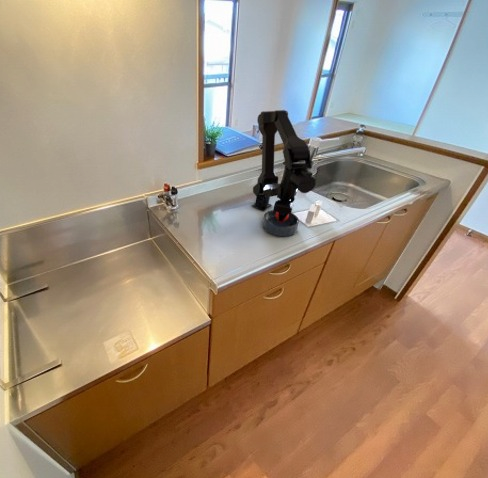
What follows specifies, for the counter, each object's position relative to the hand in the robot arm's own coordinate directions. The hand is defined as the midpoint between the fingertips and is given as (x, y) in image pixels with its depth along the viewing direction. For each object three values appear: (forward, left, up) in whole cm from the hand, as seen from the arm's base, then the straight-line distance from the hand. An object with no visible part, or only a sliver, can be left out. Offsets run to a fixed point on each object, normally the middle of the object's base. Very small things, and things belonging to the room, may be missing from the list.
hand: (281, 217), depth 106 cm
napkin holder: (-18, +6, -5) cm, 20 cm away
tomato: (0, 0, -1) cm, 1 cm away
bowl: (0, 0, -5) cm, 5 cm away
